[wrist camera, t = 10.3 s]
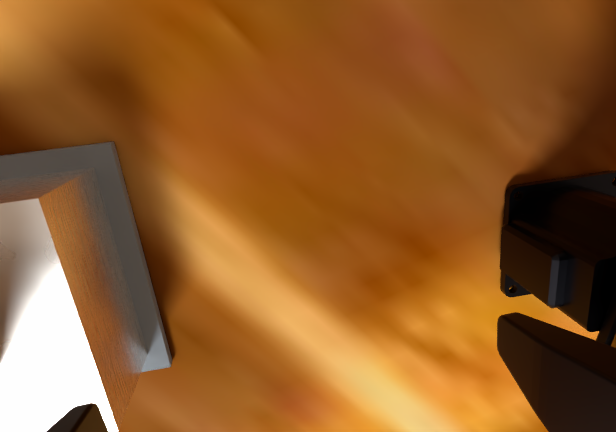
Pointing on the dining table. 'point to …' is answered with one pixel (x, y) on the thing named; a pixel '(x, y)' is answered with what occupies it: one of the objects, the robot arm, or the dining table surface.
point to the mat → (121, 224)
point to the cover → (63, 304)
